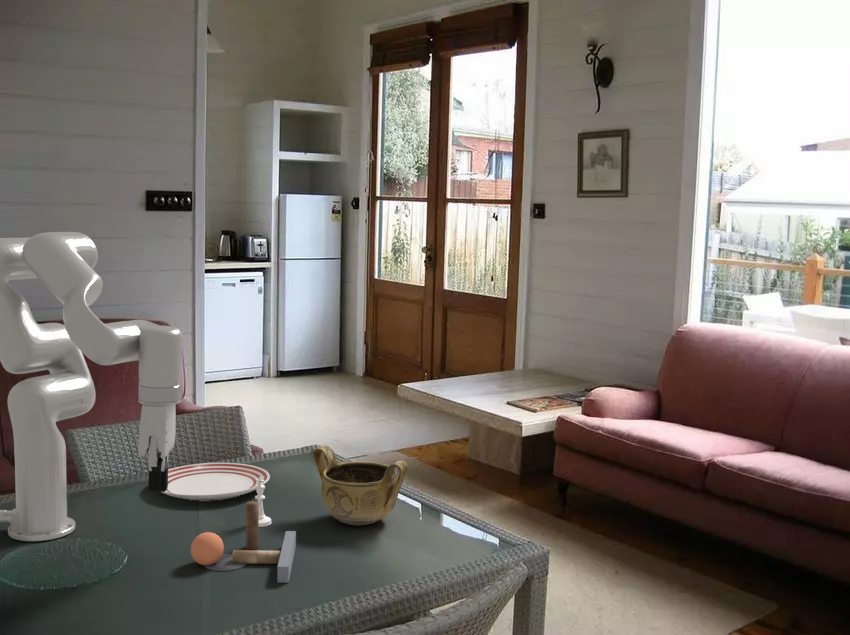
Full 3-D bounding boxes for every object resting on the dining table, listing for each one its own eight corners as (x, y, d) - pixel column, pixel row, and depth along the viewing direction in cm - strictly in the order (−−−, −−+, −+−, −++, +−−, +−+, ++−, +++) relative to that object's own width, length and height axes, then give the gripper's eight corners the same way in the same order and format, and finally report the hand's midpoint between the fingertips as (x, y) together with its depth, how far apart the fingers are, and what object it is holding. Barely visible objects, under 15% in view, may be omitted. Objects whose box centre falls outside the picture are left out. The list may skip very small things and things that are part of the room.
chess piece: (266, 528, 194) (267, 481, 192) (244, 525, 195) (244, 479, 193) (275, 520, 198) (275, 475, 197) (253, 518, 199) (253, 472, 198)
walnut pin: (245, 549, 181) (245, 505, 180) (246, 544, 184) (247, 501, 183) (257, 549, 182) (257, 505, 180) (258, 545, 184) (259, 501, 183)
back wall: (277, 582, 166) (277, 566, 166) (285, 545, 184) (285, 531, 184) (288, 582, 166) (288, 566, 166) (295, 545, 184) (295, 531, 184)
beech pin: (232, 550, 174) (280, 551, 174) (234, 549, 176) (281, 550, 177) (231, 563, 173) (280, 564, 174) (233, 562, 176) (281, 563, 176)
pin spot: (200, 571, 170) (200, 570, 170) (207, 554, 178) (207, 553, 178) (244, 571, 171) (244, 570, 171) (249, 554, 179) (249, 553, 179)
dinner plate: (124, 492, 215) (124, 478, 214) (214, 466, 237) (214, 454, 237) (206, 517, 199) (206, 502, 199) (293, 488, 222) (293, 474, 221)
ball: (225, 550, 170) (211, 576, 171) (231, 535, 176) (218, 560, 177) (195, 536, 169) (182, 562, 171) (202, 521, 175) (189, 547, 176)
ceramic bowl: (293, 522, 198) (294, 453, 196) (337, 500, 213) (339, 437, 211) (383, 543, 187) (385, 470, 185) (423, 519, 202) (425, 452, 200)
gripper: (148, 384, 177) (146, 477, 179) (128, 402, 162) (127, 503, 164) (188, 385, 177) (186, 478, 180) (172, 403, 163) (170, 504, 165)
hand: (158, 490), depth 172 cm, fingers closed
